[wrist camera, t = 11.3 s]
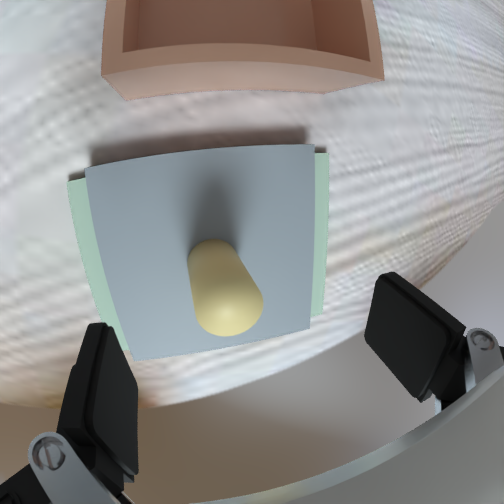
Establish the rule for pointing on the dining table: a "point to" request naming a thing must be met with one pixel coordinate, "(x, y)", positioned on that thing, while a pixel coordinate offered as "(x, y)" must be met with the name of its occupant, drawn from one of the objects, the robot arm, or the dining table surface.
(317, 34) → the salmon open box
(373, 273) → the dining table surface
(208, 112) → the dining table surface
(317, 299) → the mat
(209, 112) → the dining table surface
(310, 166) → the lid
